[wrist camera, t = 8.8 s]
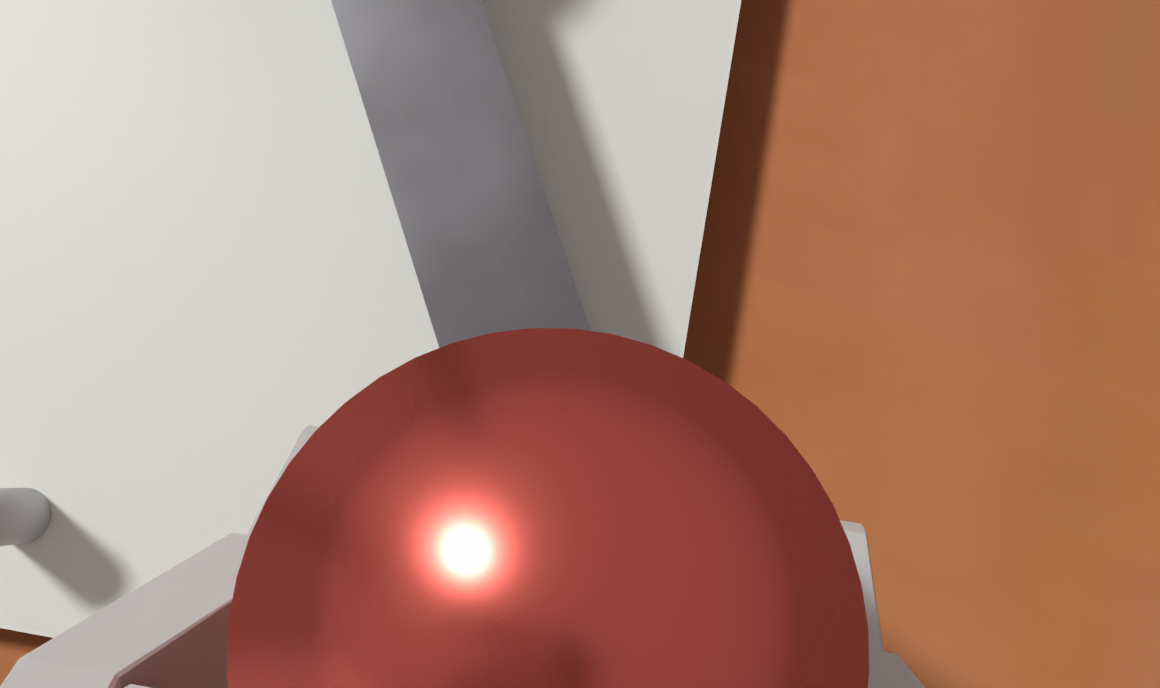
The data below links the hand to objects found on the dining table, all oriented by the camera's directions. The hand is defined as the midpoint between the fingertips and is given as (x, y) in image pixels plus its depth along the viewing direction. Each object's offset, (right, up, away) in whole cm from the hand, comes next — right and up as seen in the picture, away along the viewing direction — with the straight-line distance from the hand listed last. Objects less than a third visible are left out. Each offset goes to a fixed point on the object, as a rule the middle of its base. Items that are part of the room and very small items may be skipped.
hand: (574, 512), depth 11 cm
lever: (-3, +7, +8) cm, 11 cm away
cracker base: (-6, +8, +10) cm, 14 cm away
